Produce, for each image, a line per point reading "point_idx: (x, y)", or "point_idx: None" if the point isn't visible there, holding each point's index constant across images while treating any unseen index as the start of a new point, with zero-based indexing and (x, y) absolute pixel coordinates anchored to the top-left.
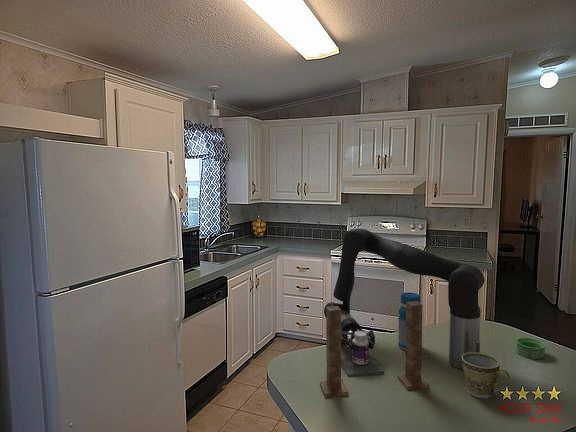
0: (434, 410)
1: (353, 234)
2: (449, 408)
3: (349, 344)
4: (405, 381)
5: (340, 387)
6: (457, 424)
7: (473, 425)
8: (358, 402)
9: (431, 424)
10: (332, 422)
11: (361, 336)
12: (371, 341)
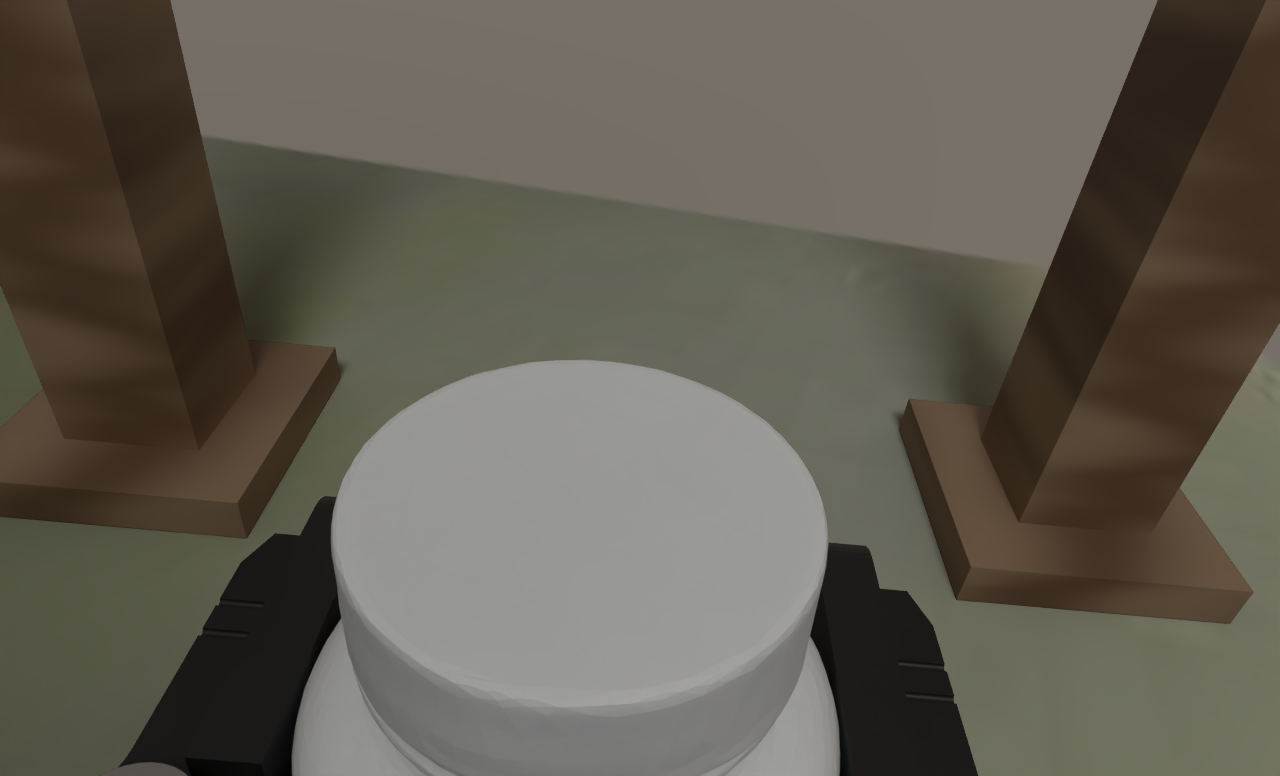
0: (355, 229)
1: None
2: (247, 222)
3: (943, 675)
4: (277, 398)
5: (991, 427)
6: (341, 167)
7: (271, 153)
8: (827, 359)
9: (470, 187)
10: (1019, 282)
11: (636, 374)
12: (213, 660)
